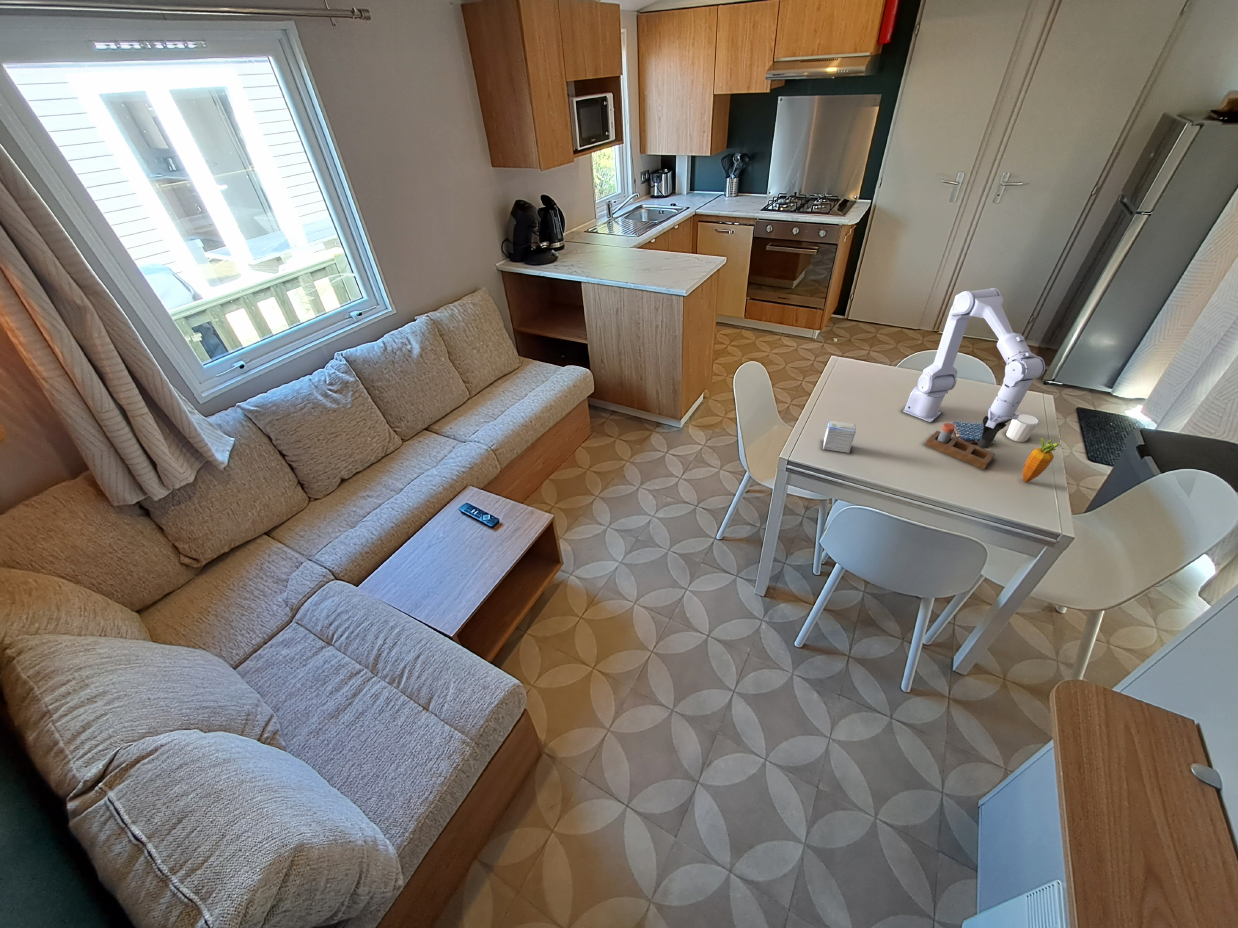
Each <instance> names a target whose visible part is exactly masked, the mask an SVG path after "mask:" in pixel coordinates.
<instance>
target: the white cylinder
mask: <svg viewBox="0 0 1238 928" xmlns="http://www.w3.org/2000/svg"><path fill="white" fill-rule="evenodd" d="M1016 414H1017V415H1019V417H1018V418H1017V419H1016V420H1014V419H1012V420H1010V423H1009V426H1008V429H1007V431H1006V433H1005V435H1006V437H1007V438H1008V439H1010V440H1011V441H1013V442H1014V441H1015V442H1018V443H1024V442H1026V441H1028V439H1029V438H1030V436H1031V435H1032V434H1033V433H1034V432H1035V431H1036V429H1037V428H1038V427H1039V425H1040V423H1041V420H1040V419H1039V418H1038V417H1036V416H1035V415H1033V414H1030V413H1025V412H1017V413H1016Z"/></svg>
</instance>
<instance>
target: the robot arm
mask: <svg viewBox="0 0 1238 928" xmlns="http://www.w3.org/2000/svg"><path fill="white" fill-rule="evenodd" d="M1003 303H1004V297H1003V296H1002V293H1001V291H1000V290H999V289H998V288H996V287H991V288H986V289H978V290H977V289H976V290H964V291H962V292H959V293H958V294H956V295H955V297H954V299H953V302H952V306H951V308H950V310H949V313H948V315H947V319H946V323H945V325H944V328H943V332H942V335H941V339H940V341H939V344H938V348H937V351H936V354H935V358H934V361H933V363H932V364H930V365H928V366H927V367H926V368H924V369H923V370H922V374H921V375H920V376H919V378H918V381H917V385H915V387H913V389H912V391H911V393H910V394H909V396H908V399H907V401H906V404H905V407H904V409H903V410H902V412H903V413H904V414H905V413H906V414H908V415H911V416H913V417H916V418H918V419H920V420H924V421H926V422H929V423H932V422H933V421H934V420H935V419H936V418H937V417H939V416H940V415H941V413H942V412H941V411H940V410H939V409H940V407H941V405H942V404H943V403H942V402H943V400H944V398H945V396H946V394H948V393H949V392H950V391H952V390H954V388H955V387H956V385H957V375H958V373H959V371H958V370H957V368H956V367H954V364H955V362H956V358H957V355H958V352H959V350H960V347H961V344H962V341H963V337H964V335H965V332H966V329H967V326H968V323H969V321H970V319H971V318H973V317H975V318H980V319H984V321H986V323H987V324H988V326H989V327H990V328H991V330H992V331H993V333H994V334H995V337H997V339H998V340H997V343H996V347H997V350H998V351H999V353H1000V355H1001V356H1002V358H1003V360H1004V362H1005V364H1006V365H1005V367H1004V378H1003V383H1002V385H1001V386H1000V388H999V390H998V393H997V394H996V396H995V398H994V400H993V402H992V404H991V406H989V408H988V414H987V415H984V417H983V418H982V424H983V433H982V439H984V440H986V441H990V440H991V439H992V438H993V437H994V436H995V435H996V436H997V434H998V433H999V432H1000V431H1001V430H1003V429H1004V428H1006V427H1007V424H1008V422H1011V421H1012V419H1014V420H1016V419H1017V418H1018V417H1019V415H1017V413H1016V412H1017V410H1018V408H1019V406H1020V404H1021V403H1022V401H1023V400H1024V397H1025V395H1026V394H1027V392H1028V391H1029V389H1030V387H1031V385H1032V383H1033V381H1034V380H1035V379H1038V378H1040V377H1041V376H1043V375H1044V373H1045V371H1046V363H1045V361H1044V359H1043V358H1042V357H1041V356H1038V355H1036V354H1035V353H1033V352H1032V351H1031V349H1030V347H1029V346H1028V344H1027V342H1026V341H1025V340H1026V339H1025V337H1024V336H1023V335H1022V334H1021V333H1017V332H1014V331H1013V328H1012V326H1011V323H1010V321H1009V318H1008V317H1007V315H1006V312H1005V310H1004V307H1003V305H1004V304H1003ZM996 433H997V434H996ZM996 436H995V437H996Z"/></svg>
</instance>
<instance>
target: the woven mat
mask: <svg viewBox="0 0 1238 928" xmlns="http://www.w3.org/2000/svg"><path fill="white" fill-rule="evenodd" d="M951 424H952V425H954V426H955V429H954V431H953V432H955V436H956V438H958V439H960V440H963V441H965V442H968V443H970V444H973V443H974V444H978V442H979V440H980V439H981V437H982V433H983V422H981V423H977V422H975V423H974V422H966V421H964V422H963V421H962V422H961V421H956V420H954V421H952V423H951ZM991 445H993V446H995V445H996V439H994V440H993V441H992V443H991Z"/></svg>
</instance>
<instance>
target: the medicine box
mask: <svg viewBox="0 0 1238 928" xmlns="http://www.w3.org/2000/svg"><path fill="white" fill-rule="evenodd" d="M856 433H857V432H856V424H855V423H850V422H843V421H835V420H828V423H827V427H826V431H825V435H824V438H823V443H822V444H823V445H822V449H823V450H826V451H833V452H840V453H847V454H850V452H851V448H852V445H853V442H854V439H855V436H856Z"/></svg>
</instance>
